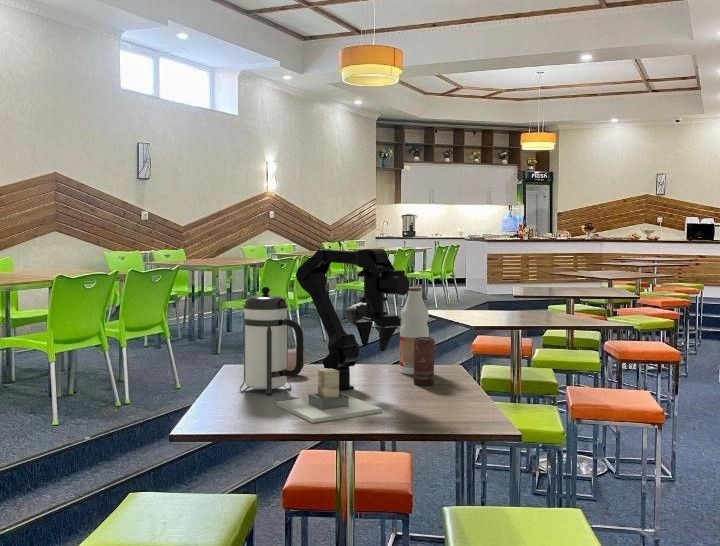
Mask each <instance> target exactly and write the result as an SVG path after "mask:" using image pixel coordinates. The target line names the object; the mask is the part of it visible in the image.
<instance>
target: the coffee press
mask: <svg viewBox="0 0 720 546" xmlns="http://www.w3.org/2000/svg"><path fill="white" fill-rule="evenodd" d="M270 291H271V290H270V288H269V287H268V286H263V287H262V289H261V293H262V294H260V295H253V296H252V295H251V296H249V297H248V298H247V299H245V301H244V304H243V305H242V309H243V314H244V317H243V382H242V384H241V385H240V386H239V391H240V393H244V392H246V391H247V390H248V389H255V390H265V391H266V396H268V397H269V396H273V390H274V389H275V390H276V389H279V388H281V387H285V389H287V390H291V389H292V385H291V383H290V382H289V379H288V377H289V378H291V377H294V376H295V377H296V376H297V375H299V374H300V373H301V372H302V370H303V368H304V367H303V353H304V351H303V349H304V334H303V329H302V326H301V325H300V324H299V322H297V321H295V320H293V319H288V316H287V315H288V314H287V313H288V308H289V304H288V303H287V301H286V299H285V298H283V297H282V296H280V295H272V294H269V293H270ZM288 327H291V328H292V329H293V330H294V332H295V337H296V338H295V339H296V341H295V343H296V344H295V345H296V346H295V347H296V367H295V369H294V370H287V368H288V348H289V346H288V345H289V344H288V343H289V342H288V341H289V340H288V336H289V335H288ZM302 367H303V368H302ZM287 383H288V384H289V387H287V386H285V385H286V384H287ZM244 385H245V386H246V388H245V389H242V388H243V386H244ZM241 389H242V390H241Z"/></svg>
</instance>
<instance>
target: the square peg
mask: <svg viewBox="0 0 720 546" xmlns="http://www.w3.org/2000/svg"><path fill="white" fill-rule="evenodd" d="M317 393H318V397H321V398H323V399H327V398H334V397H339V393H340V390H339V371H338V370H335V369H332V368H331V369H327V368H323V369H318V370H317Z"/></svg>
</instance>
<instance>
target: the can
mask: <svg viewBox="0 0 720 546" xmlns="http://www.w3.org/2000/svg"><path fill="white" fill-rule="evenodd" d="M435 341H436V340H435V339H434V338H433V337H430V336H429V337H417V338H415V340H414V375H413V380H412V381H413V384H414V385H415V386H419V387H420V386H421V387H427V386H428V387H429V386H432V385H433V384H434V381H435V380H434V379H435V349H436V342H435Z"/></svg>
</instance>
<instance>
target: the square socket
mask: <svg viewBox="0 0 720 546" xmlns="http://www.w3.org/2000/svg"><path fill="white" fill-rule="evenodd" d="M343 394H344V393H343ZM343 394H340V392H339V397H334V398H327V399H323V398H321V397H318V392H315V393H308V396H307V398H308V404H310V405H312V406H315V407H317V408H319V409H322V410H326V409H333V408H340V407H347V406H349V397H348V396H349V395H348V396H346V395H347V394H346V395H343Z"/></svg>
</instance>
